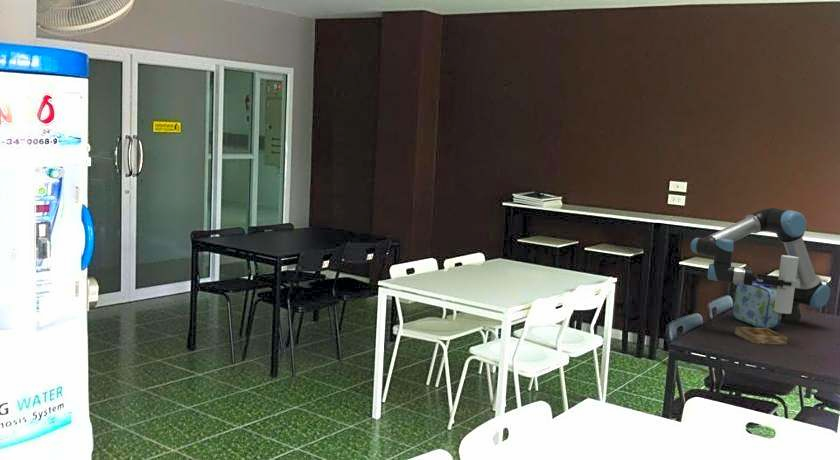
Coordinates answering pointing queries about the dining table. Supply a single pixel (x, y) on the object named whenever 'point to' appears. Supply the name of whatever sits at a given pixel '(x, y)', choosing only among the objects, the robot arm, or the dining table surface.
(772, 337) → the oak tray
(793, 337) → the dining table surface
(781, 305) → the tall white box
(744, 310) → the lunch box
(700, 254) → the robot arm
